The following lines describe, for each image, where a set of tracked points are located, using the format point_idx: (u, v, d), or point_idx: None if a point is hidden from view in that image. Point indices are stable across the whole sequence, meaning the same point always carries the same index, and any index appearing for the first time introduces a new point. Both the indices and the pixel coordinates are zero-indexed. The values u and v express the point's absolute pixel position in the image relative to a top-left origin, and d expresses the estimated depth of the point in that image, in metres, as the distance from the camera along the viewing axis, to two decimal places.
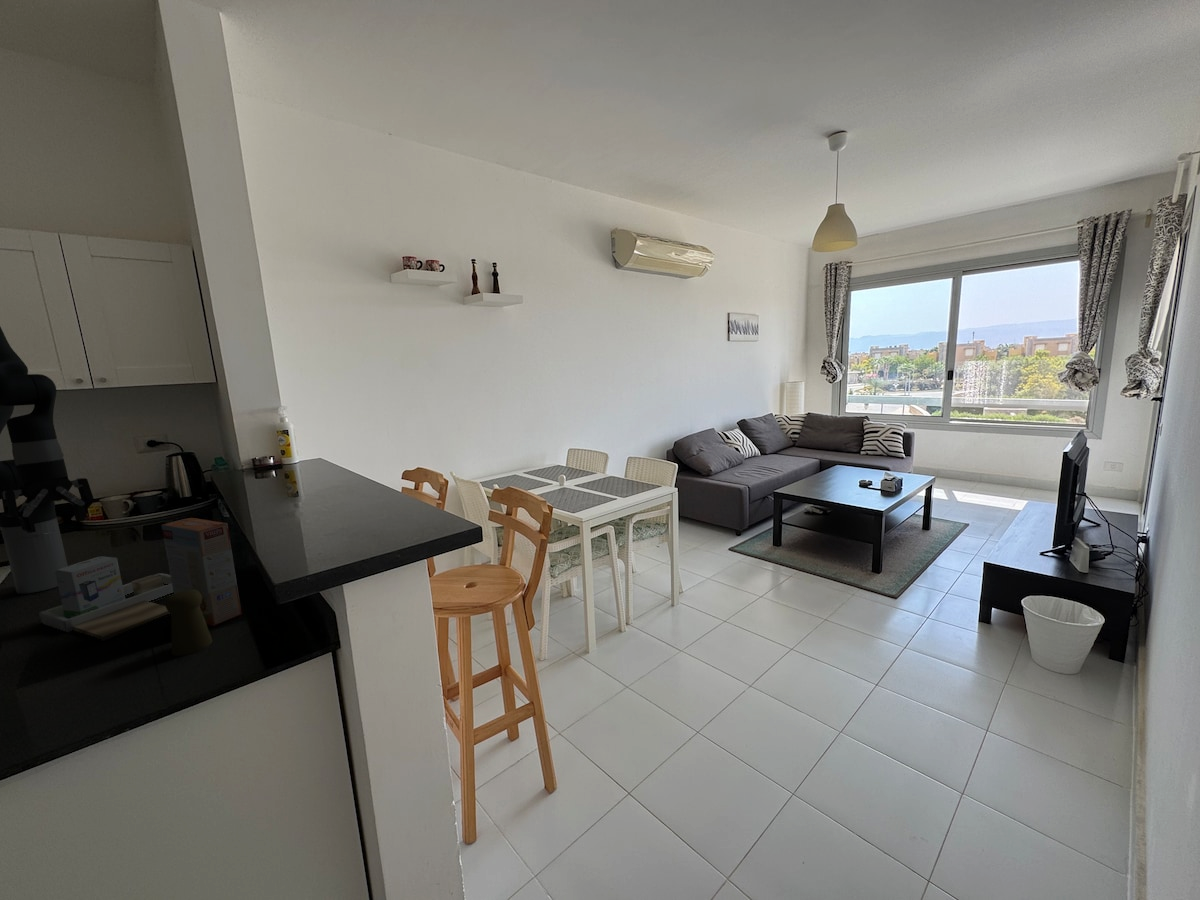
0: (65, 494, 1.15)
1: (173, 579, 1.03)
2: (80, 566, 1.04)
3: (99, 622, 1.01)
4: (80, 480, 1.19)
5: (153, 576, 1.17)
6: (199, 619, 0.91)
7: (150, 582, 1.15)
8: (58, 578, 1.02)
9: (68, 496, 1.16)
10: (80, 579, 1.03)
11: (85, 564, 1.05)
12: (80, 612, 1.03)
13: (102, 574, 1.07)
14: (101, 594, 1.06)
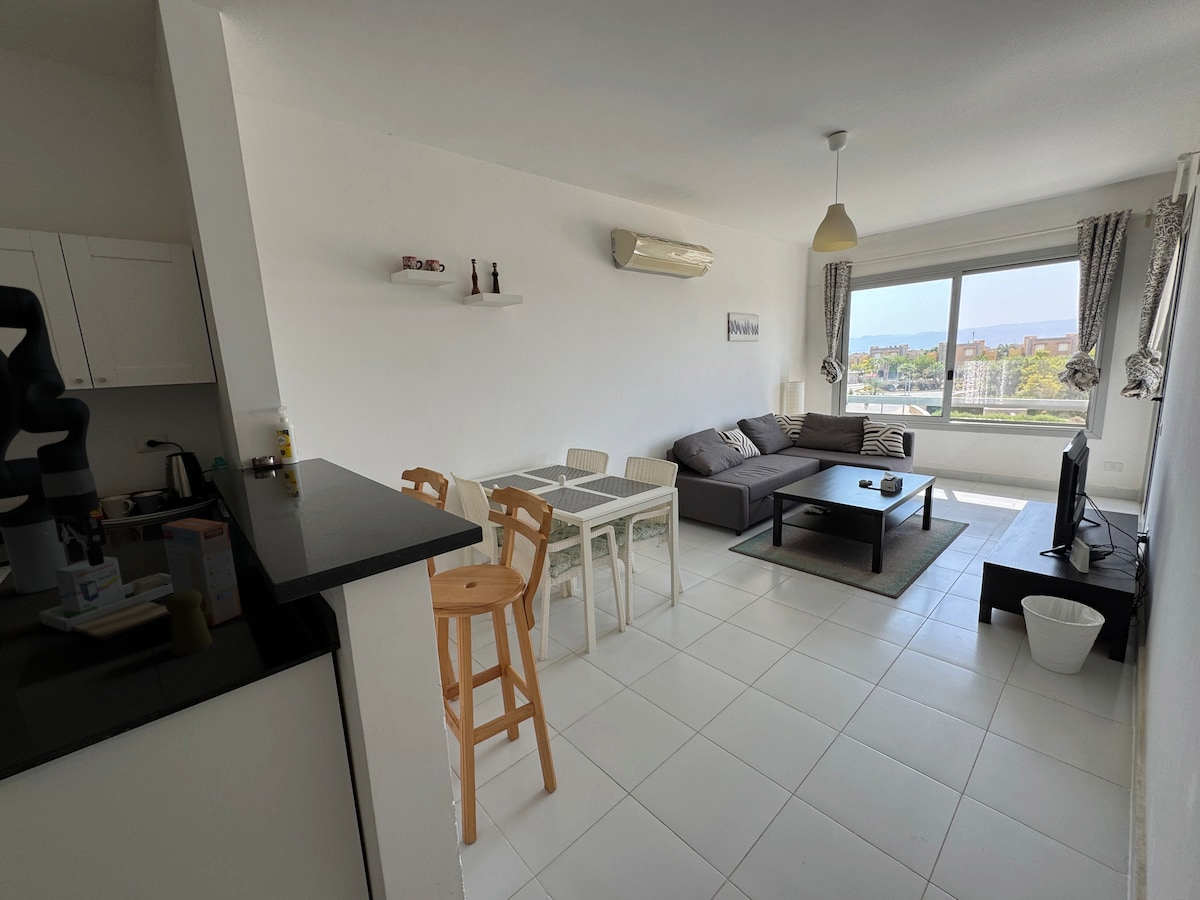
0: None
1: (172, 579, 1.03)
2: (80, 566, 1.04)
3: (99, 622, 1.01)
4: None
5: (153, 576, 1.17)
6: (199, 619, 0.91)
7: (150, 582, 1.15)
8: (58, 578, 1.02)
9: None
10: (80, 579, 1.03)
11: (85, 564, 1.05)
12: (80, 612, 1.03)
13: (102, 574, 1.07)
14: (101, 594, 1.06)
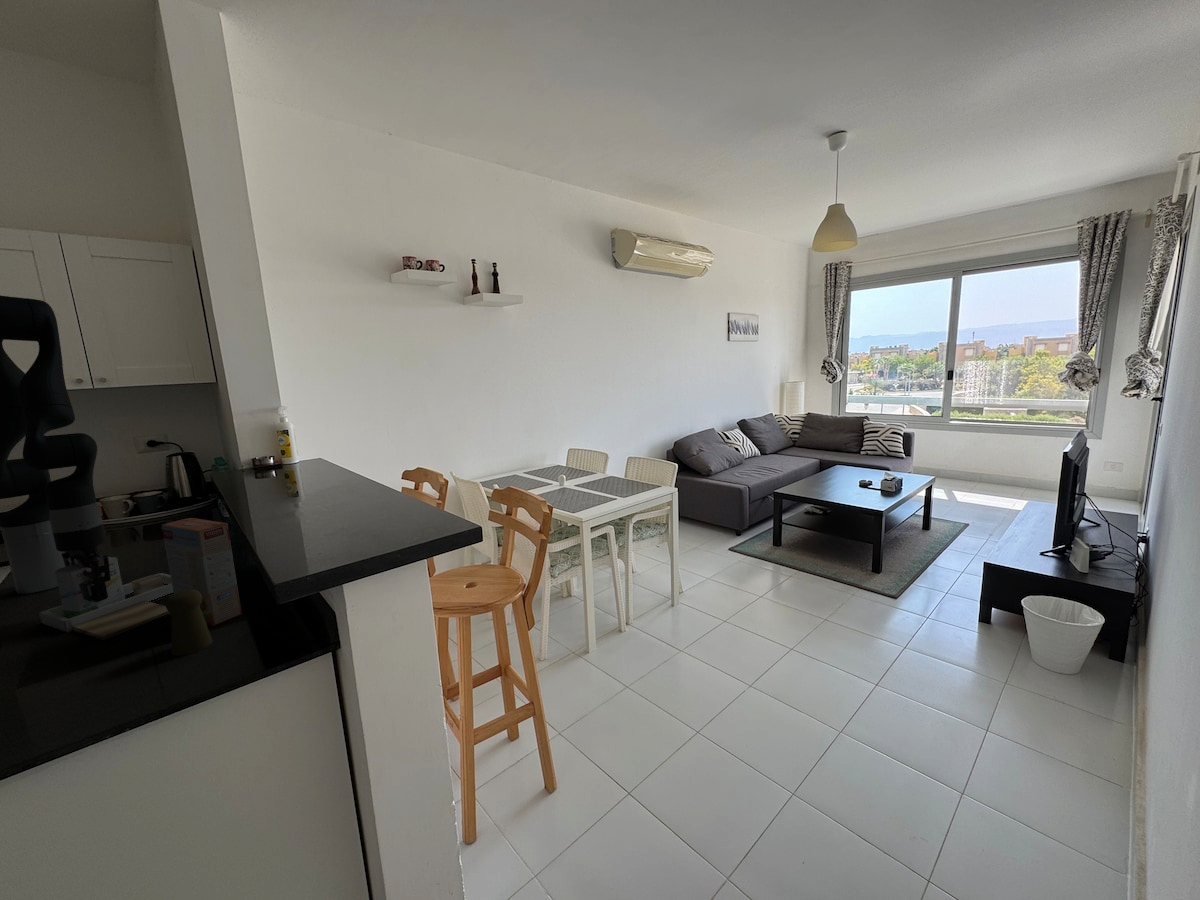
0: None
1: (172, 579, 1.03)
2: None
3: (99, 622, 1.01)
4: None
5: (153, 576, 1.17)
6: (199, 619, 0.91)
7: (150, 582, 1.15)
8: (58, 578, 1.02)
9: None
10: (80, 578, 1.03)
11: None
12: (80, 612, 1.03)
13: None
14: None
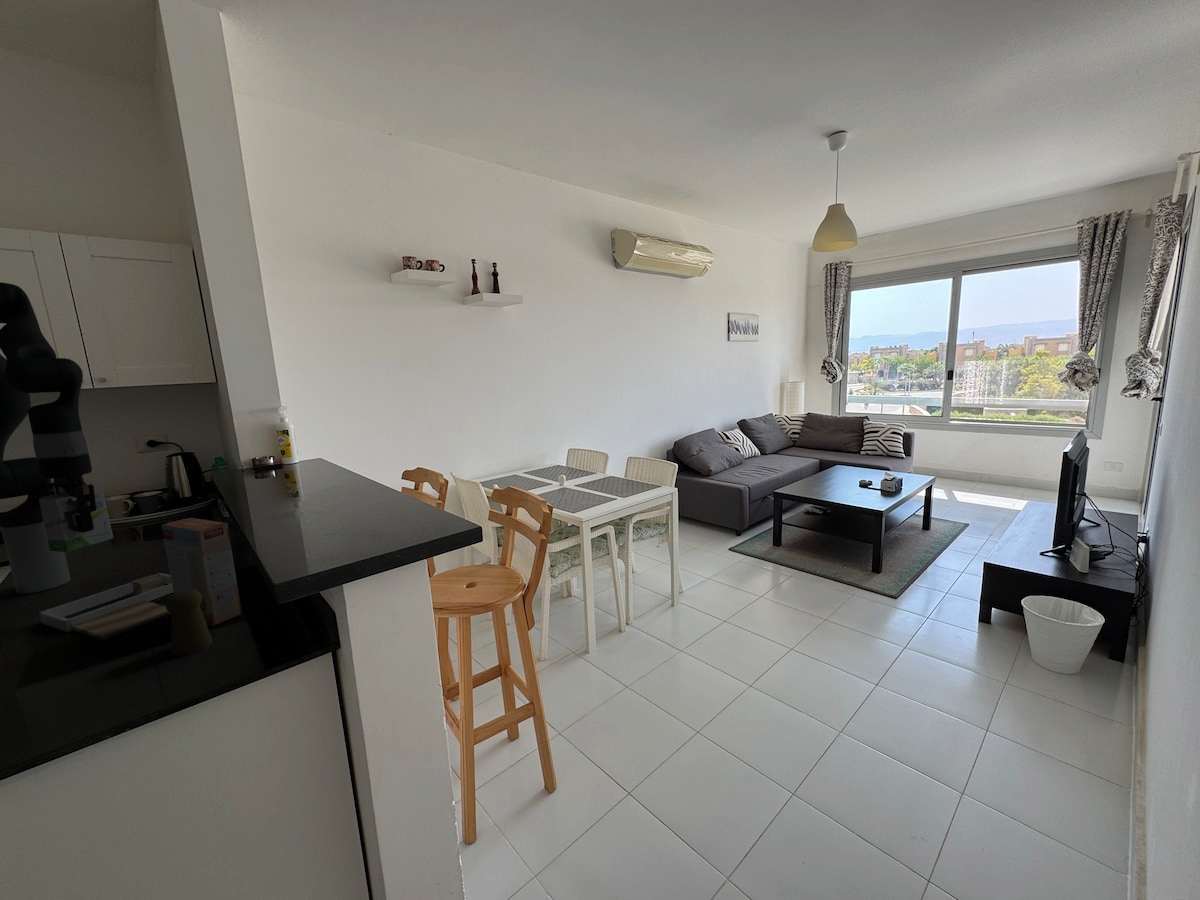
0: None
1: (173, 579, 1.03)
2: None
3: (99, 622, 1.01)
4: None
5: (153, 576, 1.17)
6: (199, 619, 0.91)
7: (150, 582, 1.15)
8: (42, 506, 1.00)
9: None
10: (64, 507, 1.00)
11: None
12: (65, 541, 1.00)
13: None
14: None
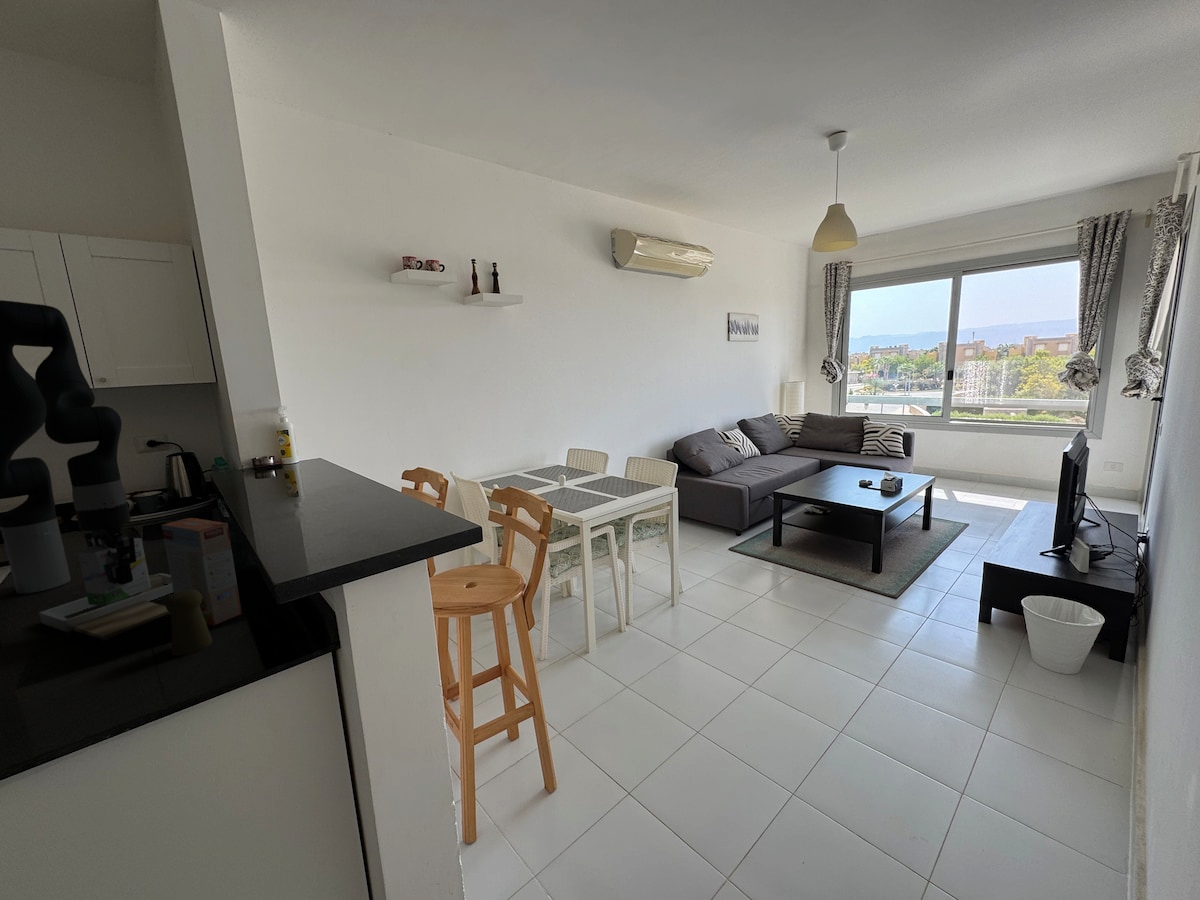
0: None
1: (173, 579, 1.03)
2: None
3: (99, 622, 1.01)
4: None
5: (153, 576, 1.17)
6: (199, 619, 0.91)
7: (150, 582, 1.15)
8: (81, 559, 0.97)
9: None
10: (104, 559, 0.97)
11: None
12: (104, 595, 0.98)
13: None
14: None
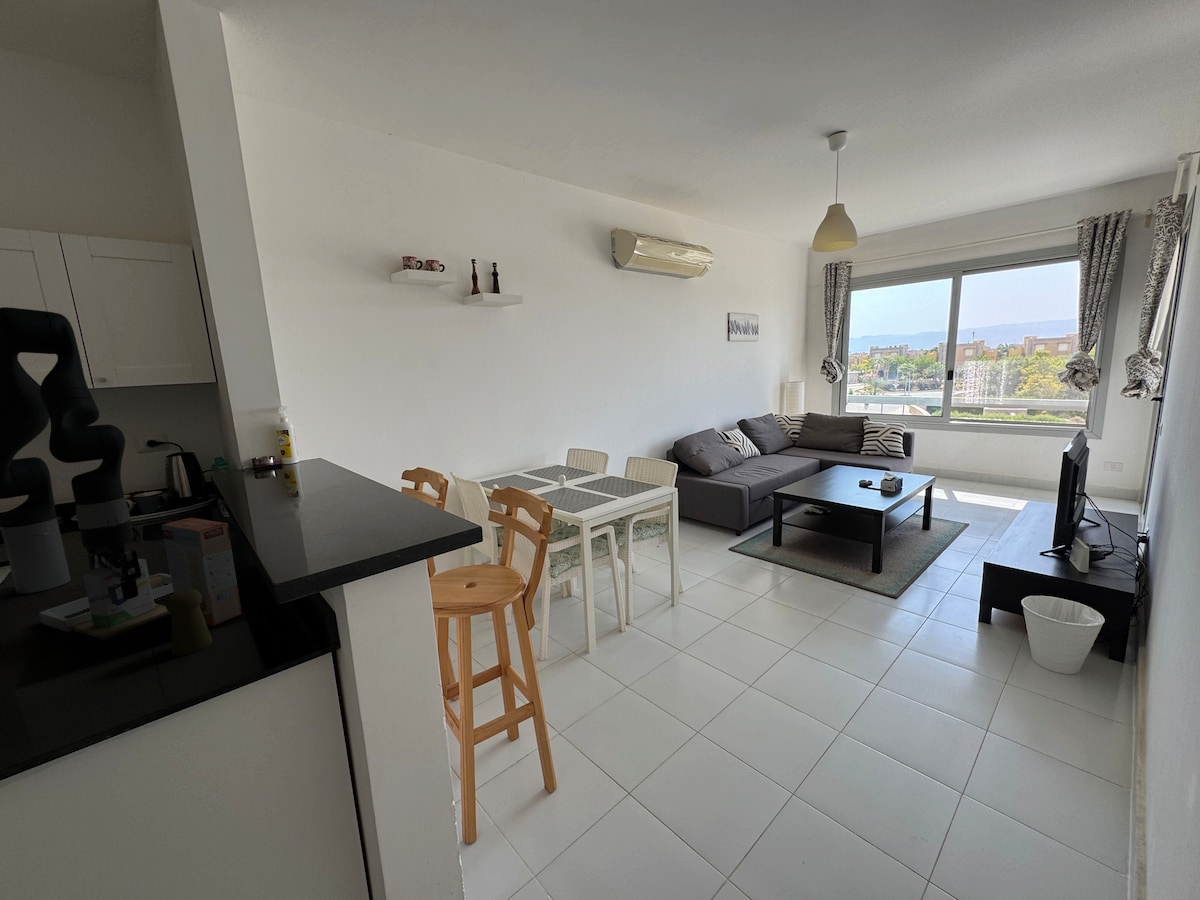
0: None
1: (172, 579, 1.03)
2: (108, 568, 1.00)
3: None
4: None
5: (153, 576, 1.17)
6: (199, 619, 0.91)
7: (150, 582, 1.15)
8: (86, 581, 0.98)
9: None
10: (108, 582, 0.98)
11: None
12: (108, 617, 0.98)
13: None
14: None
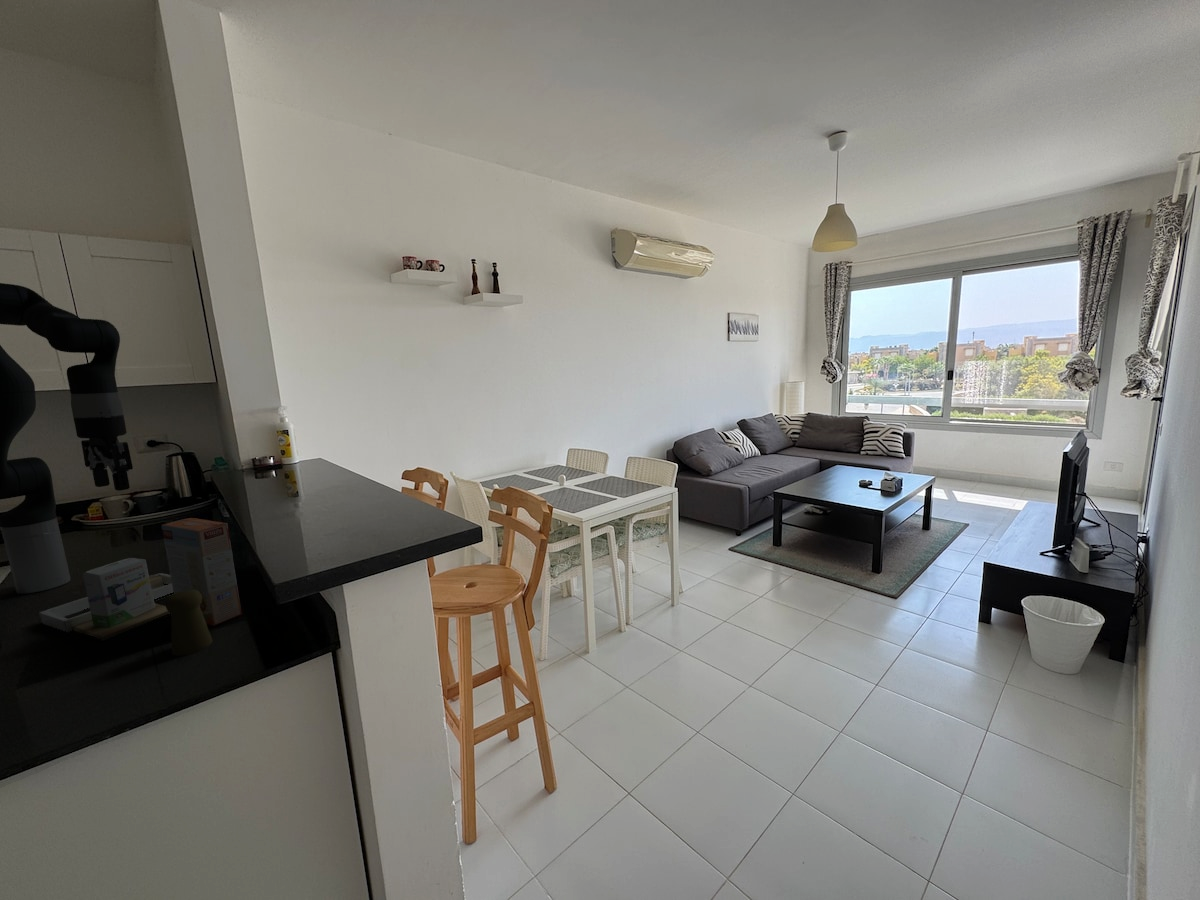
0: None
1: (172, 579, 1.03)
2: (108, 568, 1.00)
3: None
4: None
5: (153, 576, 1.17)
6: (199, 619, 0.91)
7: (150, 582, 1.15)
8: (86, 581, 0.98)
9: None
10: (108, 582, 0.98)
11: (113, 566, 1.01)
12: (108, 617, 0.98)
13: (130, 577, 1.02)
14: (129, 597, 1.02)
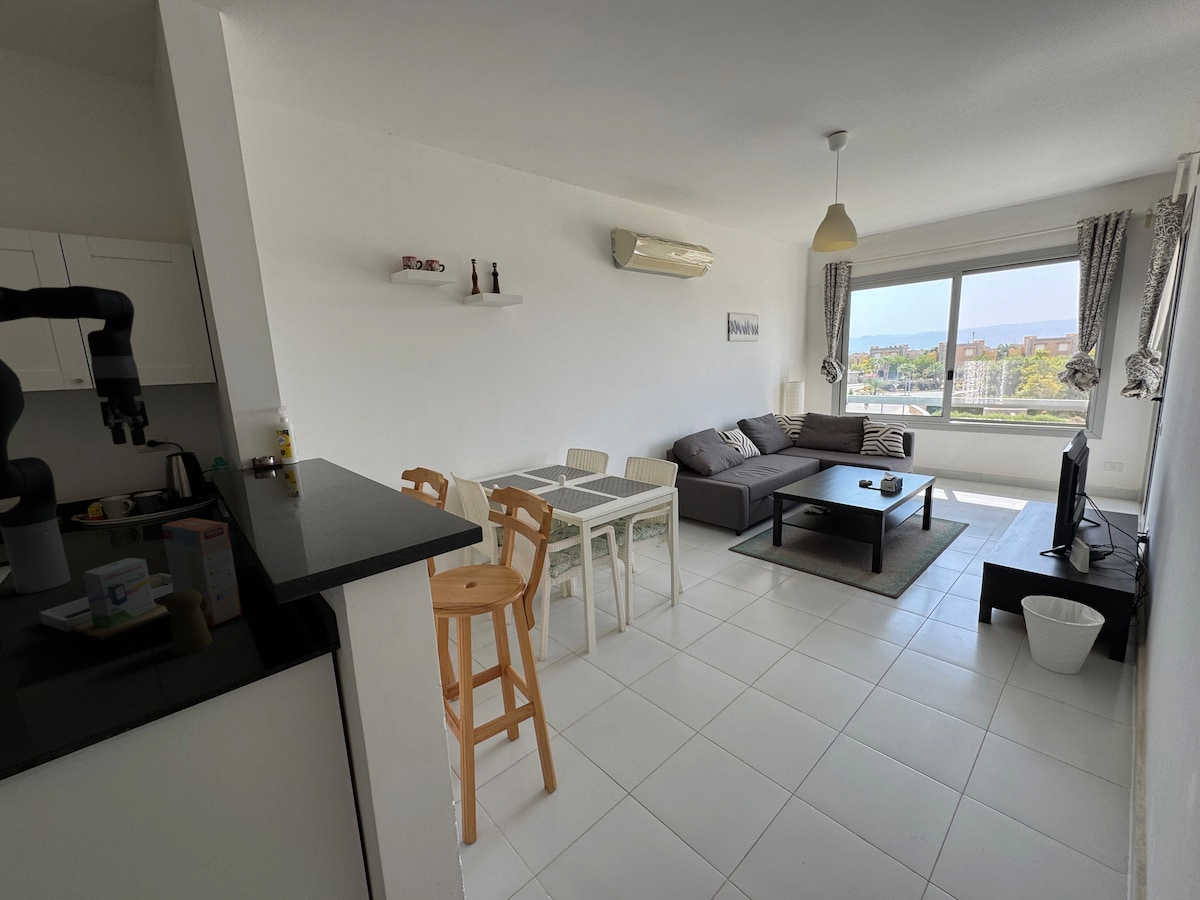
0: None
1: (173, 579, 1.03)
2: (108, 568, 1.00)
3: None
4: None
5: (153, 576, 1.17)
6: (199, 619, 0.91)
7: (150, 582, 1.15)
8: (86, 581, 0.98)
9: None
10: (108, 582, 0.98)
11: (113, 566, 1.01)
12: (108, 617, 0.98)
13: (130, 577, 1.02)
14: (129, 597, 1.02)
